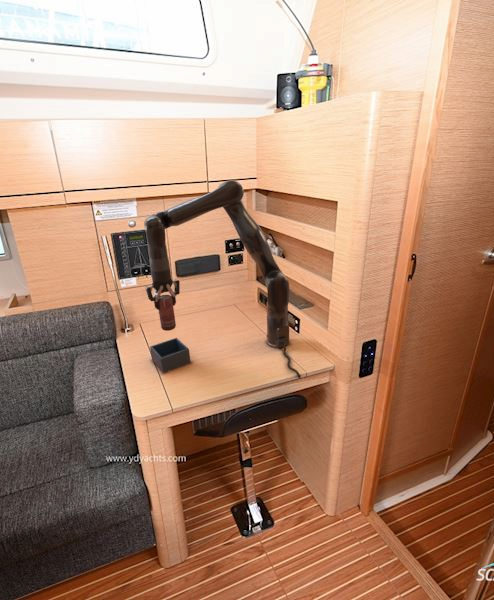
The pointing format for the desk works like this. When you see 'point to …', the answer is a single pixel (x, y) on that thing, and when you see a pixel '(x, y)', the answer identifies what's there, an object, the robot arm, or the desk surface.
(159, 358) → the bin
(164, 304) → the can
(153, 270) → the robot arm
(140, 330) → the desk surface
